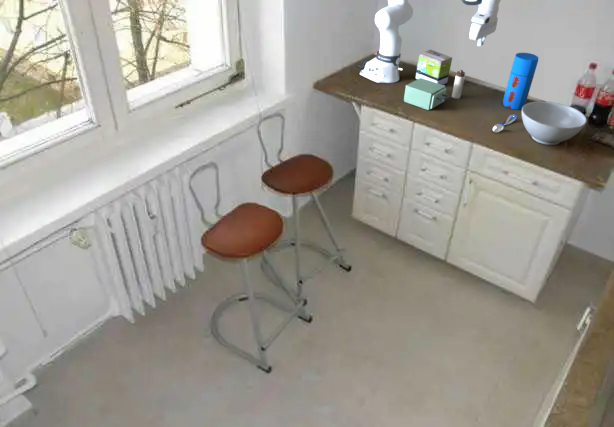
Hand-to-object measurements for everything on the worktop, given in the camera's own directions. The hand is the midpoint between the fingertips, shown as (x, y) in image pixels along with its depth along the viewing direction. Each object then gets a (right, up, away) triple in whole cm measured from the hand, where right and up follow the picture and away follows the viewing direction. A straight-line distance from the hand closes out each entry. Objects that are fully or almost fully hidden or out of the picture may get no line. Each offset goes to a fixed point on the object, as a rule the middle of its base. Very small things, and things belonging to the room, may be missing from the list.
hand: (480, 45), depth 248 cm
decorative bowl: (+26, -46, -12) cm, 54 cm away
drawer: (-21, -24, +14) cm, 35 cm away
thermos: (+22, -25, +16) cm, 37 cm away
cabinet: (-23, -23, +16) cm, 37 cm away
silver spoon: (+11, -39, -2) cm, 40 cm away
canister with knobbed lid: (-5, -19, +22) cm, 30 cm away
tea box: (-14, -7, +39) cm, 42 cm away
